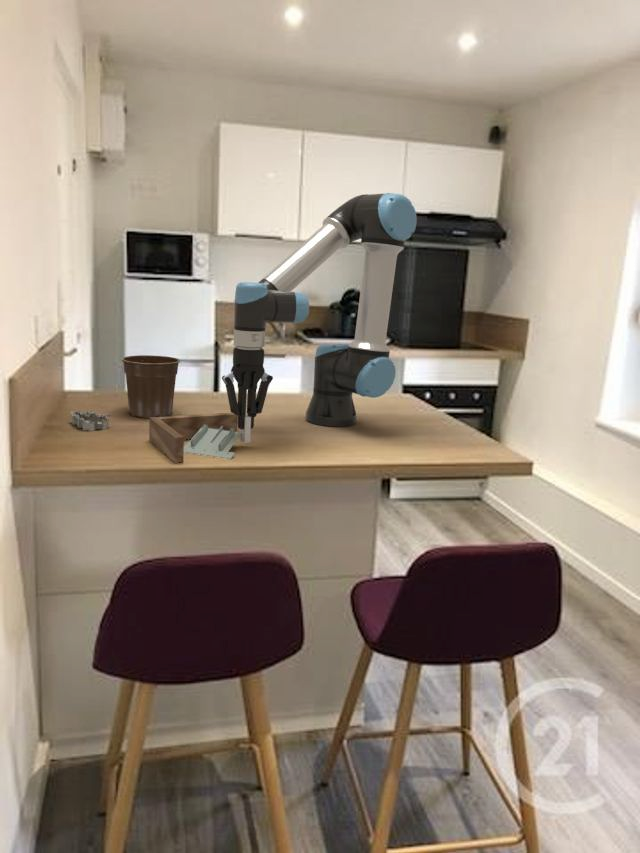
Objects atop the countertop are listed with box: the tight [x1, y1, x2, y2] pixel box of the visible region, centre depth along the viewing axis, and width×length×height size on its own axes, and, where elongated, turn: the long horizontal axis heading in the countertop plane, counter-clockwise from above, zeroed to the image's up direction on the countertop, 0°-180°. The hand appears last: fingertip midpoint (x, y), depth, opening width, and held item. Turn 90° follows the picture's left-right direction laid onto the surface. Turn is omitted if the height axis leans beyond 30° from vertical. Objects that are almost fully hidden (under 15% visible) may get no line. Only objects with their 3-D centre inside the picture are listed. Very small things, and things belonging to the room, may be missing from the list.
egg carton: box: [70, 410, 111, 432], centre depth 182 cm, size 11×8×4 cm
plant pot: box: [121, 354, 181, 419], centre depth 198 cm, size 16×16×16 cm
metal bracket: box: [184, 425, 242, 460], centre depth 169 cm, size 14×6×15 cm
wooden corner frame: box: [148, 412, 238, 464], centre depth 169 cm, size 23×20×6 cm
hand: (245, 441), depth 172 cm, fingers closed
